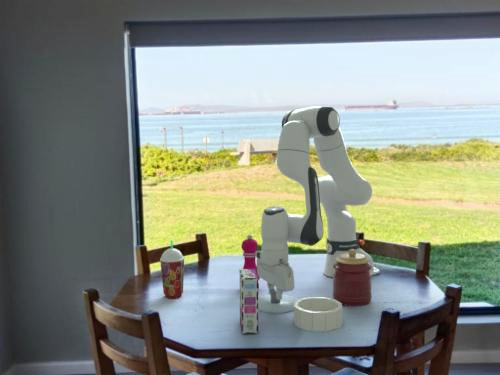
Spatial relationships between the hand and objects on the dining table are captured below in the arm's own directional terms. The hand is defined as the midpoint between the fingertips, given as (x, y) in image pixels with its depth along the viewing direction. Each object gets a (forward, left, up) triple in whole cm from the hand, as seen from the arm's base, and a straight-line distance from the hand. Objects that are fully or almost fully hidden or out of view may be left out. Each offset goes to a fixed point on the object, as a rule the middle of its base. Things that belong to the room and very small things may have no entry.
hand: (275, 297), depth 173 cm
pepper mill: (0, -20, -3) cm, 20 cm away
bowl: (-4, +20, -2) cm, 21 cm away
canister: (-25, +8, -3) cm, 26 cm away
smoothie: (+28, -24, -3) cm, 37 cm away
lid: (0, 0, -3) cm, 3 cm away
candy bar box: (+16, +14, -3) cm, 21 cm away
